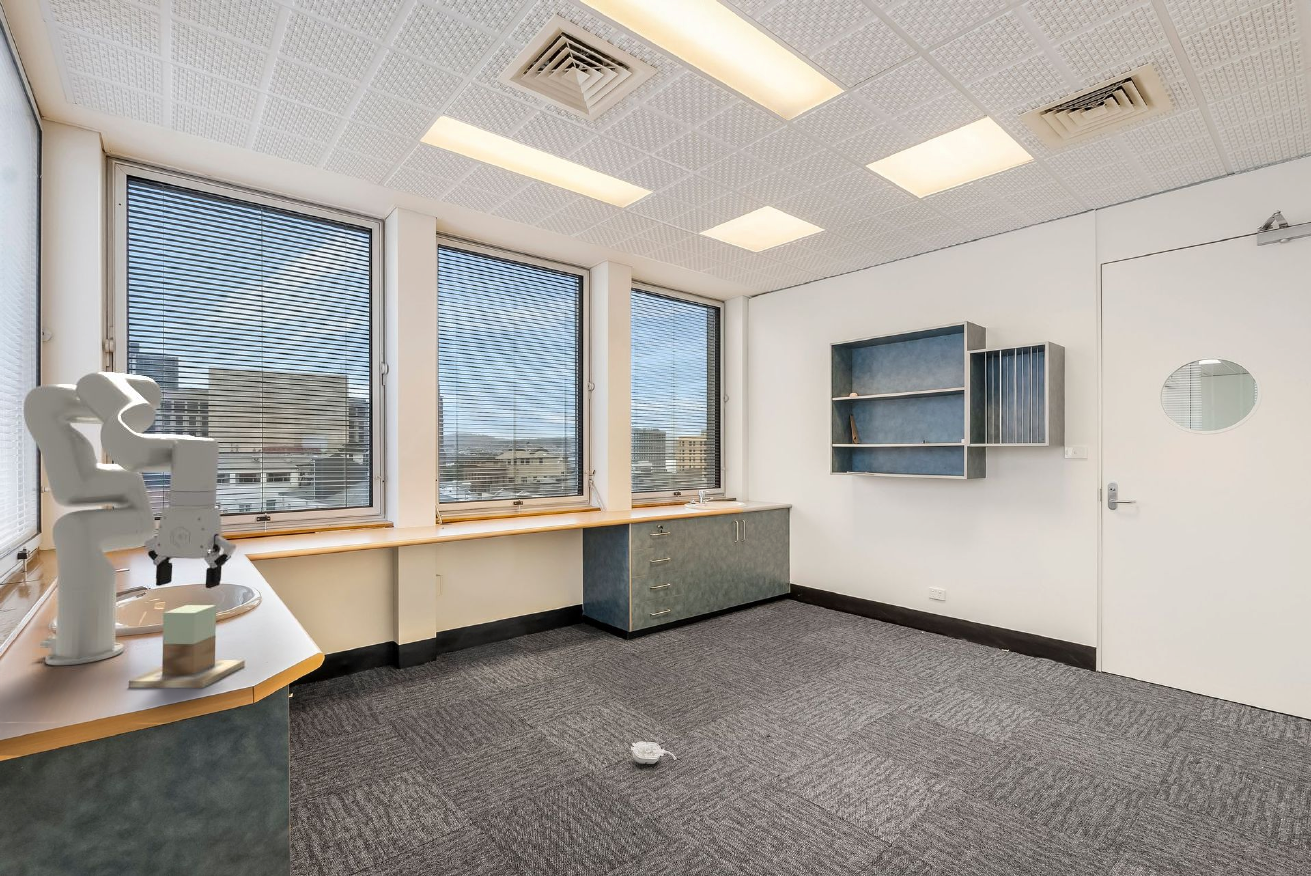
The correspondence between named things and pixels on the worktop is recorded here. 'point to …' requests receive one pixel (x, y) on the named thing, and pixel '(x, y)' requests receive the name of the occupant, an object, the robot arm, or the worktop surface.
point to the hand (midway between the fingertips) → (188, 585)
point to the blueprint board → (187, 676)
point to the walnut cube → (188, 657)
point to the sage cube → (189, 624)
